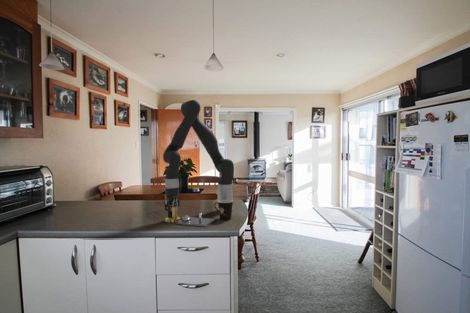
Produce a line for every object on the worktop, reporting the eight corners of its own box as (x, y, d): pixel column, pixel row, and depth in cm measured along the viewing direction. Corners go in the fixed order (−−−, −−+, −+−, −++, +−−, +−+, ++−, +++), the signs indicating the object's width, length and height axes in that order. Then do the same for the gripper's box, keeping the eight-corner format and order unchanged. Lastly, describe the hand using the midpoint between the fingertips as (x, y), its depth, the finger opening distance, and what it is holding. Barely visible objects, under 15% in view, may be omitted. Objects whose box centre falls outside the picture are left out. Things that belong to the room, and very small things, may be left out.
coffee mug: (235, 219, 157) (235, 201, 157) (222, 221, 153) (222, 203, 152) (226, 215, 167) (226, 198, 167) (213, 216, 163) (213, 200, 162)
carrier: (187, 218, 160) (187, 209, 159) (214, 220, 154) (214, 211, 154) (176, 224, 148) (176, 214, 148) (205, 226, 143) (205, 217, 143)
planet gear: (170, 218, 161) (170, 204, 161) (183, 219, 158) (182, 205, 158) (162, 221, 153) (161, 207, 153) (175, 223, 150) (175, 208, 150)
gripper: (173, 184, 163) (173, 213, 164) (159, 188, 150) (159, 219, 150) (184, 185, 161) (184, 214, 161) (171, 188, 147) (171, 220, 148)
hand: (172, 216), depth 156 cm, fingers closed on planet gear, 5 cm apart
